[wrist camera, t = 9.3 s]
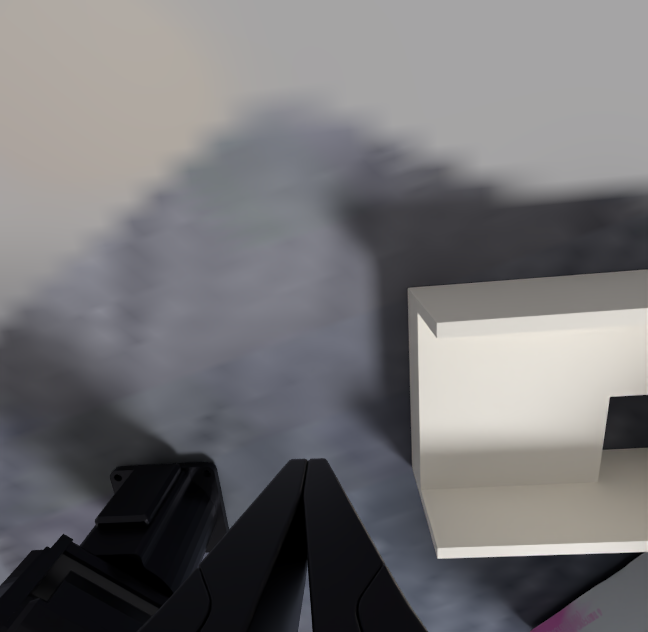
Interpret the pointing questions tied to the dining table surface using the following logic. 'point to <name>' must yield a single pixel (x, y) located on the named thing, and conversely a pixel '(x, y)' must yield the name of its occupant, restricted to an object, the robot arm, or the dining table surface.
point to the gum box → (608, 604)
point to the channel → (528, 414)
